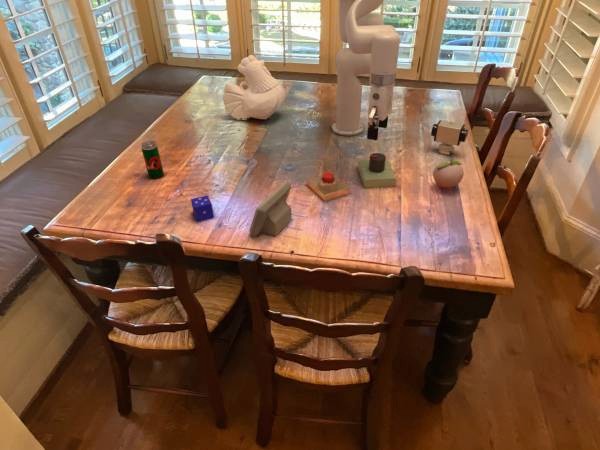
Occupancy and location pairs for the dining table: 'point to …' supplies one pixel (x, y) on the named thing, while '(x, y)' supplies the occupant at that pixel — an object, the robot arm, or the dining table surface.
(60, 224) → the dining table surface
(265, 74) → the decorative rooster
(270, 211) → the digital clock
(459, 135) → the pneumatic valve
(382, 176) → the dial panel
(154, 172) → the soda can
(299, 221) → the dining table surface
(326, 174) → the button
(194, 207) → the die
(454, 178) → the decorative fruit
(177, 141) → the dining table surface
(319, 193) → the button box
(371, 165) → the dial knob
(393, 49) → the robot arm
